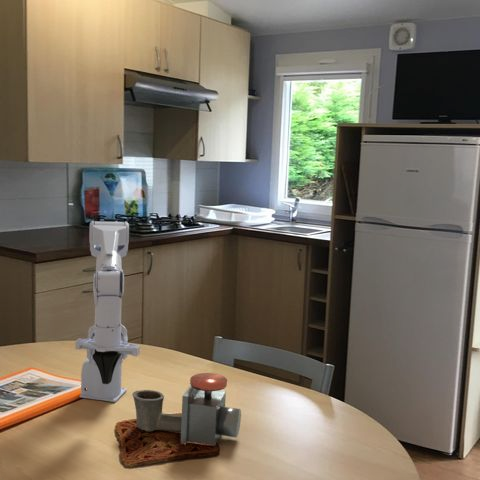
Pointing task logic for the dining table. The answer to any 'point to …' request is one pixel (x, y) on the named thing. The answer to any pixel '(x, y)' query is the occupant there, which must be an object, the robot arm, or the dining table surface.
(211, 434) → the valve
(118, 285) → the robot arm
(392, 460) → the dining table surface
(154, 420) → the pipe
